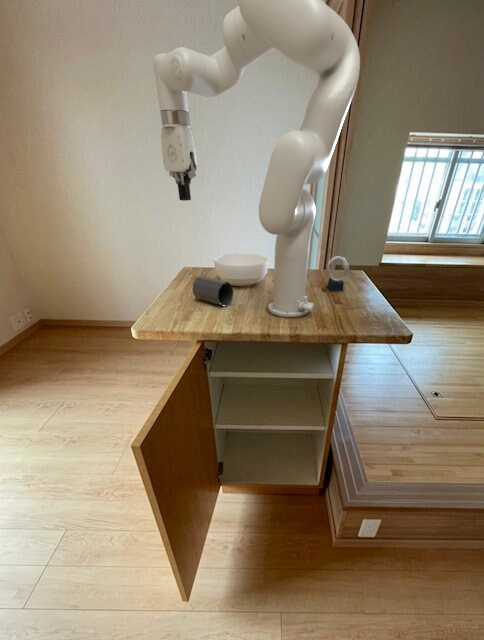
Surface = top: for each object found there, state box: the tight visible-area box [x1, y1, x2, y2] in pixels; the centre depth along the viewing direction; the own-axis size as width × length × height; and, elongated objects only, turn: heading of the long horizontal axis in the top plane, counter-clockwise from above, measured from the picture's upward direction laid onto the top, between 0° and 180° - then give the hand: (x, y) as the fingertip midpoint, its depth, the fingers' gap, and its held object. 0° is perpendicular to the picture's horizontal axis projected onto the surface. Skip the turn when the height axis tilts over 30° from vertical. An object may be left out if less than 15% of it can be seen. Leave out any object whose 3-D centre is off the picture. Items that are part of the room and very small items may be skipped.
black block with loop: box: [326, 255, 351, 292], centre depth 112 cm, size 6×8×11 cm
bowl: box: [213, 252, 269, 287], centre depth 117 cm, size 20×20×8 cm
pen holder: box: [192, 275, 234, 308], centre depth 100 cm, size 7×8×11 cm
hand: (185, 200), depth 97 cm, fingers closed
